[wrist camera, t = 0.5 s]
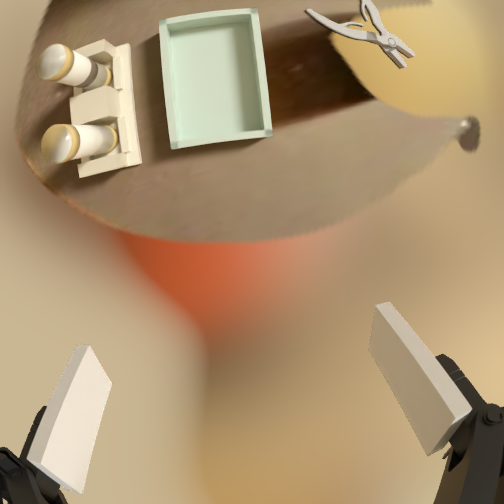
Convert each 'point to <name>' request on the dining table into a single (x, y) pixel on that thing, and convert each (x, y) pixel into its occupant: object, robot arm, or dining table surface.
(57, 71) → the fuse
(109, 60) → the fuse holder
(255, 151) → the dining table surface
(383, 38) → the pliers
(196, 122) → the parts tray
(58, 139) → the fuse
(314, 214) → the dining table surface
